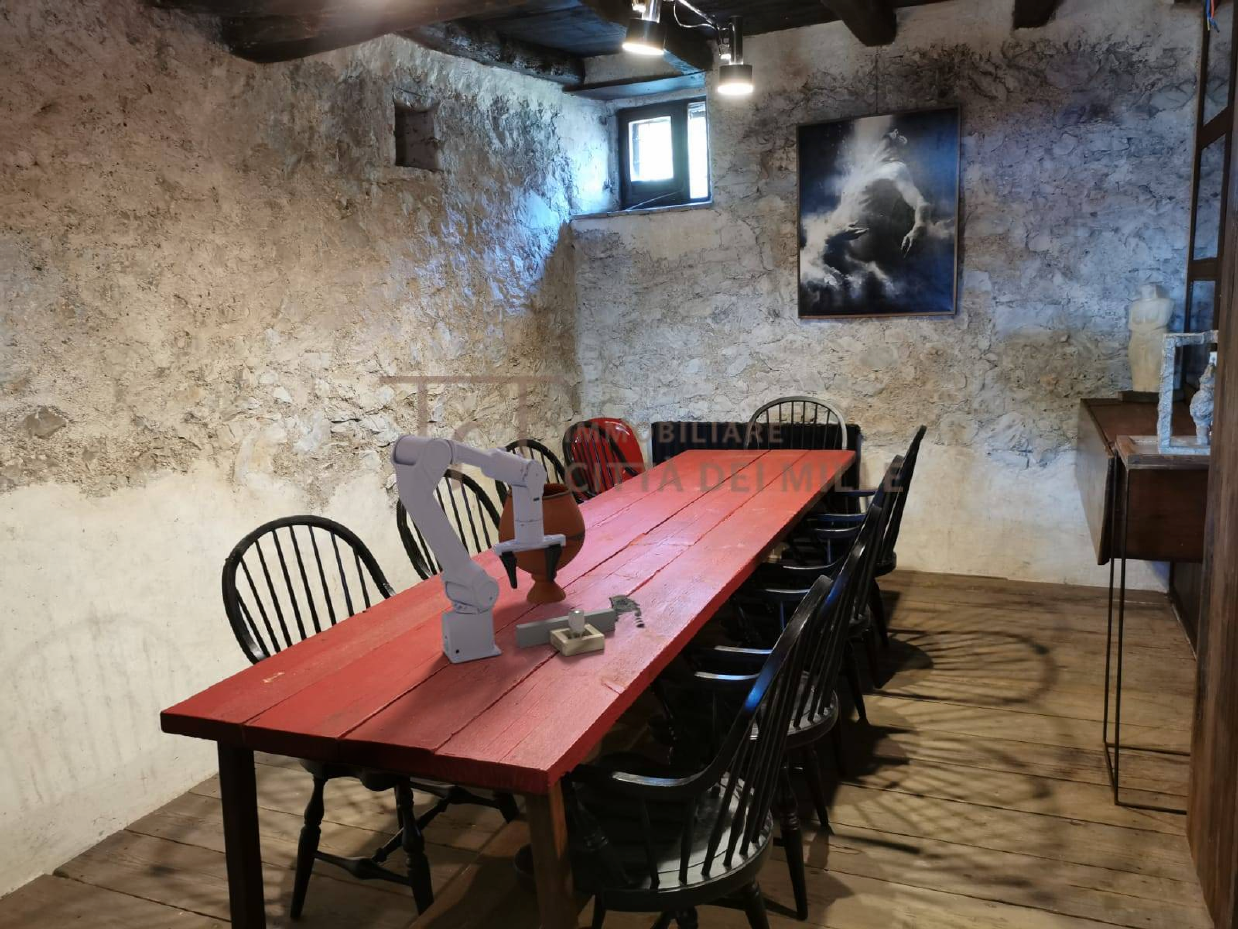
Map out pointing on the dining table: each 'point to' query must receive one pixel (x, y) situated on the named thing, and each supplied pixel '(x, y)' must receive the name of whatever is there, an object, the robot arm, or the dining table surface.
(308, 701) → the dining table surface
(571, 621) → the dowel
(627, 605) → the driftwood
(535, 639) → the backstop wall
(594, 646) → the socket block
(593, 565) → the dining table surface
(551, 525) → the goblet
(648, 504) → the dining table surface
